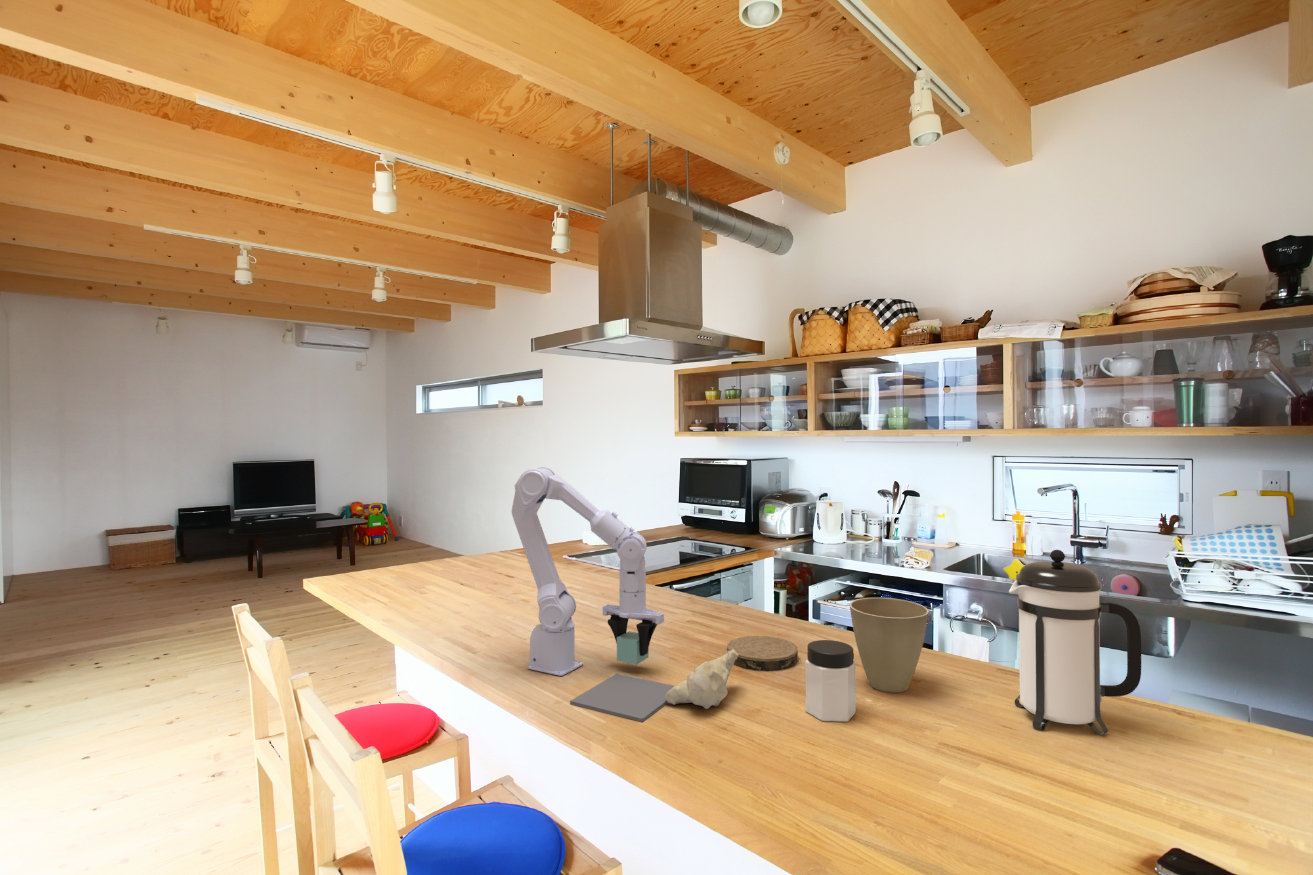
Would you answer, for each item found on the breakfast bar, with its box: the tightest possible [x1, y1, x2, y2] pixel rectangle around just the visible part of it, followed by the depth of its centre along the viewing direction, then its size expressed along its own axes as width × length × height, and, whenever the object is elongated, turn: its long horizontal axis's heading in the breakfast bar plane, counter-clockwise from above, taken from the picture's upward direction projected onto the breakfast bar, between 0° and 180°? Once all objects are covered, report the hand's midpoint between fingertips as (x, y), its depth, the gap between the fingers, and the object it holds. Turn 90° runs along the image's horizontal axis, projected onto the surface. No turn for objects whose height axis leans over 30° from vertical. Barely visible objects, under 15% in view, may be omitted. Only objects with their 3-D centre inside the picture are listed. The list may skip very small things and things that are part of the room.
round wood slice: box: [726, 635, 799, 672], centre depth 145 cm, size 16×16×3 cm
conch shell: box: [665, 649, 739, 710], centre depth 122 cm, size 15×7×15 cm
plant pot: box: [849, 597, 930, 694], centre depth 129 cm, size 15×15×16 cm
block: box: [616, 631, 650, 666], centre depth 139 cm, size 5×5×5 cm
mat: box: [569, 673, 675, 723], centre depth 124 cm, size 16×16×1 cm
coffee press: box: [1008, 549, 1142, 737], centre depth 113 cm, size 17×16×30 cm
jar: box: [804, 639, 857, 723], centre depth 116 cm, size 9×8×12 cm
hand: (632, 652), depth 139 cm, fingers closed on block, 5 cm apart
